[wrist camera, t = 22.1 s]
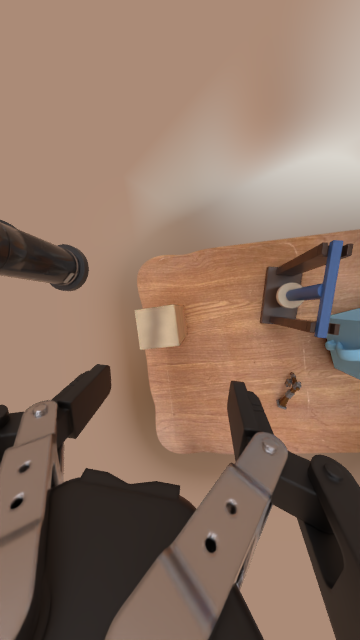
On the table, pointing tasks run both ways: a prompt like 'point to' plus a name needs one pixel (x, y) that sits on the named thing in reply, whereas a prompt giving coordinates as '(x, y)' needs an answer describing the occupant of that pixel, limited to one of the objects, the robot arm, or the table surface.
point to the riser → (161, 326)
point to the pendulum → (316, 291)
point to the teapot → (346, 342)
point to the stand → (293, 274)
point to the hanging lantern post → (289, 391)
